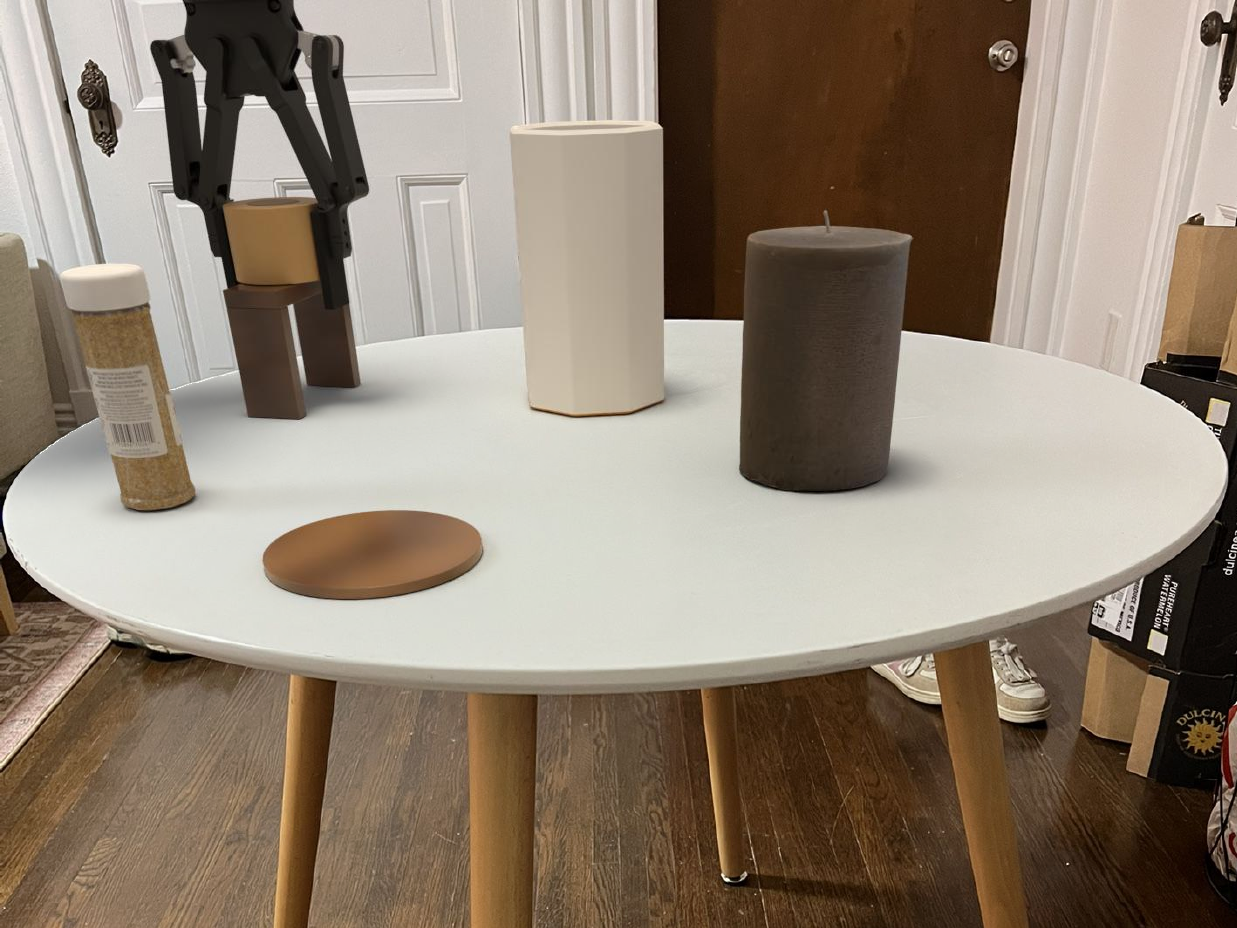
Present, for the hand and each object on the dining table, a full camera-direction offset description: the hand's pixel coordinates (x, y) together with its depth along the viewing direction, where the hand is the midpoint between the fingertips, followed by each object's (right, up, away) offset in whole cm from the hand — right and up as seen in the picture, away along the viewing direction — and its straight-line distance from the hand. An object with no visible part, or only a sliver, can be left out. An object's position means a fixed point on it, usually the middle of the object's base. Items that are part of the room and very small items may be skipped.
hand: (290, 304), depth 91 cm
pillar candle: (+38, -17, -14) cm, 44 cm away
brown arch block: (0, -6, +4) cm, 7 cm away
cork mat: (+12, -25, -25) cm, 38 cm away
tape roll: (0, +2, -1) cm, 2 cm away
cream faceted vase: (+23, -7, +2) cm, 24 cm away
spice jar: (-4, -20, -16) cm, 26 cm away
